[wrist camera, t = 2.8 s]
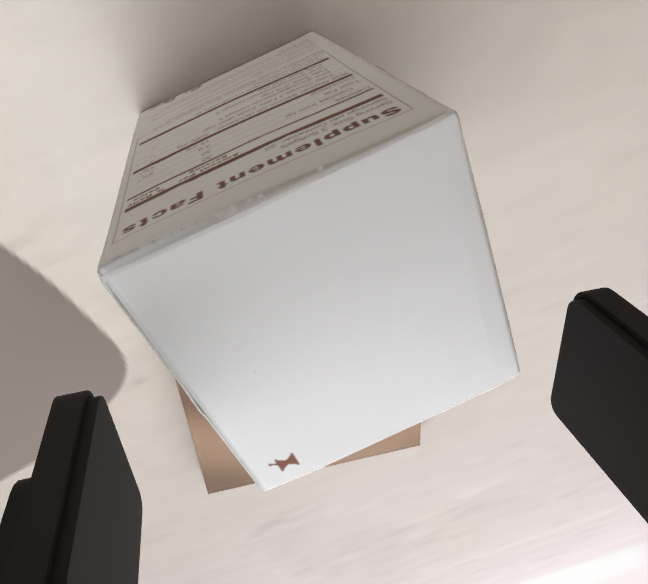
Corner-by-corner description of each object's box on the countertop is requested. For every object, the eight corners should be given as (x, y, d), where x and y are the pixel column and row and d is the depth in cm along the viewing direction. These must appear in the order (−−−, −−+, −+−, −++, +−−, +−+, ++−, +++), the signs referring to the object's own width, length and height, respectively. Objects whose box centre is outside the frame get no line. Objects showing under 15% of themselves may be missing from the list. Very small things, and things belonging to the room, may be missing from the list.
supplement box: (376, 195, 24) (529, 385, 14) (222, 265, 24) (256, 506, 14) (316, 22, 20) (470, 103, 10) (130, 107, 20) (80, 279, 10)
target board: (157, 295, 24) (156, 312, 23) (416, 250, 26) (427, 263, 25) (207, 476, 31) (208, 496, 30) (412, 429, 32) (420, 447, 31)
